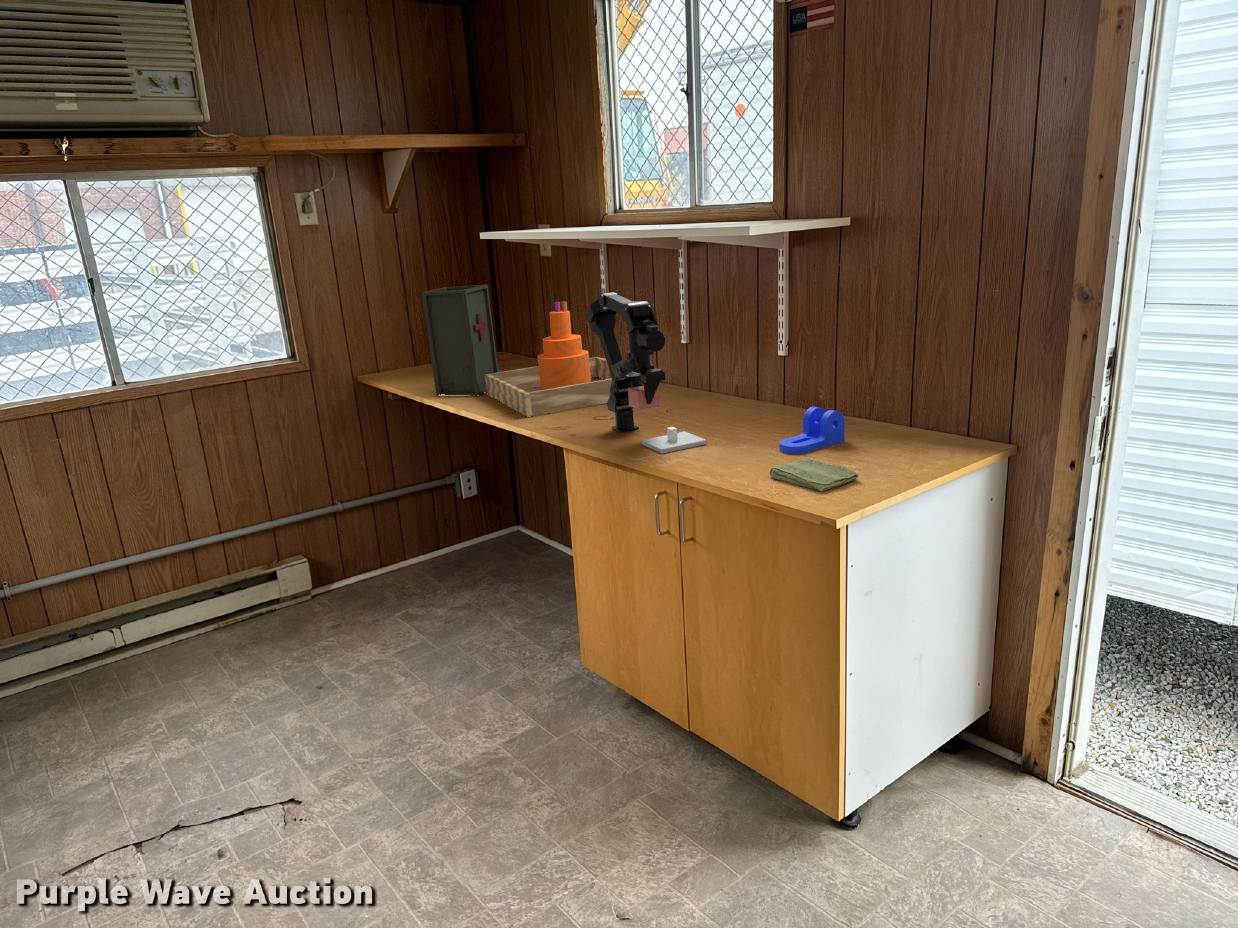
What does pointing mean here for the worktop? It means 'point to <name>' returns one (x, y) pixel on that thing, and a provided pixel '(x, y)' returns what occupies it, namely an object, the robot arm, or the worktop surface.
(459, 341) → the first aid box
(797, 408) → the worktop surface
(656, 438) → the peg base plate
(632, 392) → the pink slotted box
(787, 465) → the washcloth
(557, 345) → the cake
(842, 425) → the bracket
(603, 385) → the storage crate
